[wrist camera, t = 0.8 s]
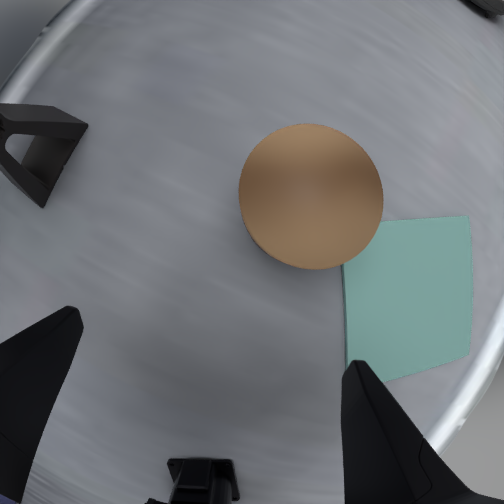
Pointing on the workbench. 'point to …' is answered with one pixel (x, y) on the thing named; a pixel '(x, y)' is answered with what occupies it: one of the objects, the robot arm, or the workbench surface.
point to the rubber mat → (410, 296)
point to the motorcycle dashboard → (491, 7)
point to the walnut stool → (310, 196)
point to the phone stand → (38, 146)
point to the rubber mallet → (6, 500)
